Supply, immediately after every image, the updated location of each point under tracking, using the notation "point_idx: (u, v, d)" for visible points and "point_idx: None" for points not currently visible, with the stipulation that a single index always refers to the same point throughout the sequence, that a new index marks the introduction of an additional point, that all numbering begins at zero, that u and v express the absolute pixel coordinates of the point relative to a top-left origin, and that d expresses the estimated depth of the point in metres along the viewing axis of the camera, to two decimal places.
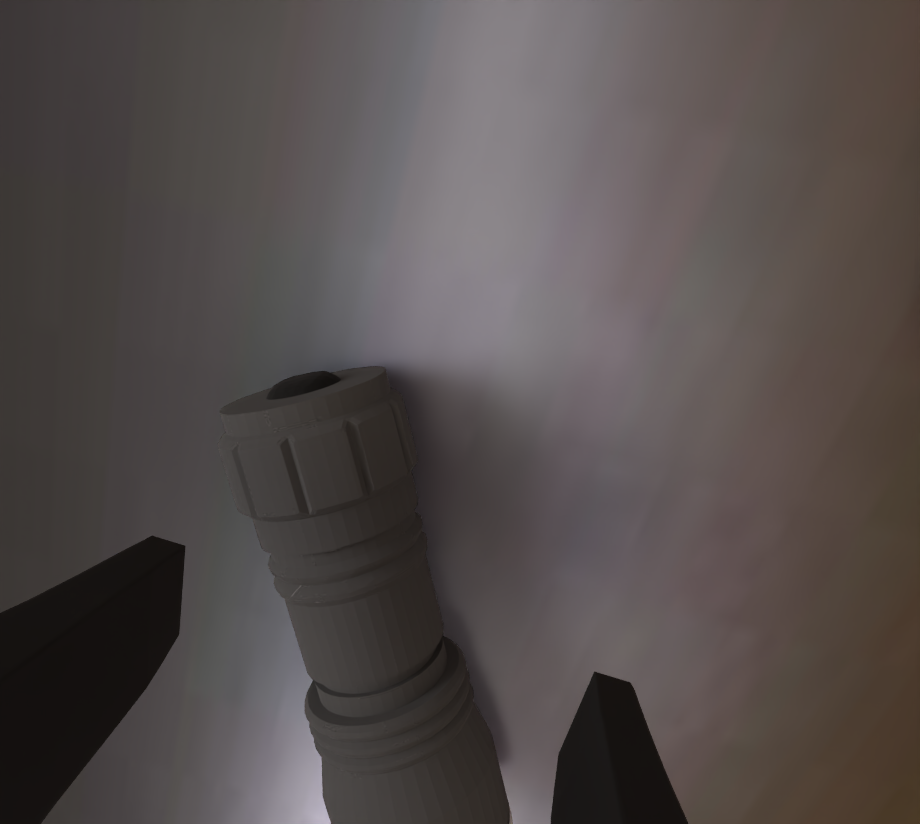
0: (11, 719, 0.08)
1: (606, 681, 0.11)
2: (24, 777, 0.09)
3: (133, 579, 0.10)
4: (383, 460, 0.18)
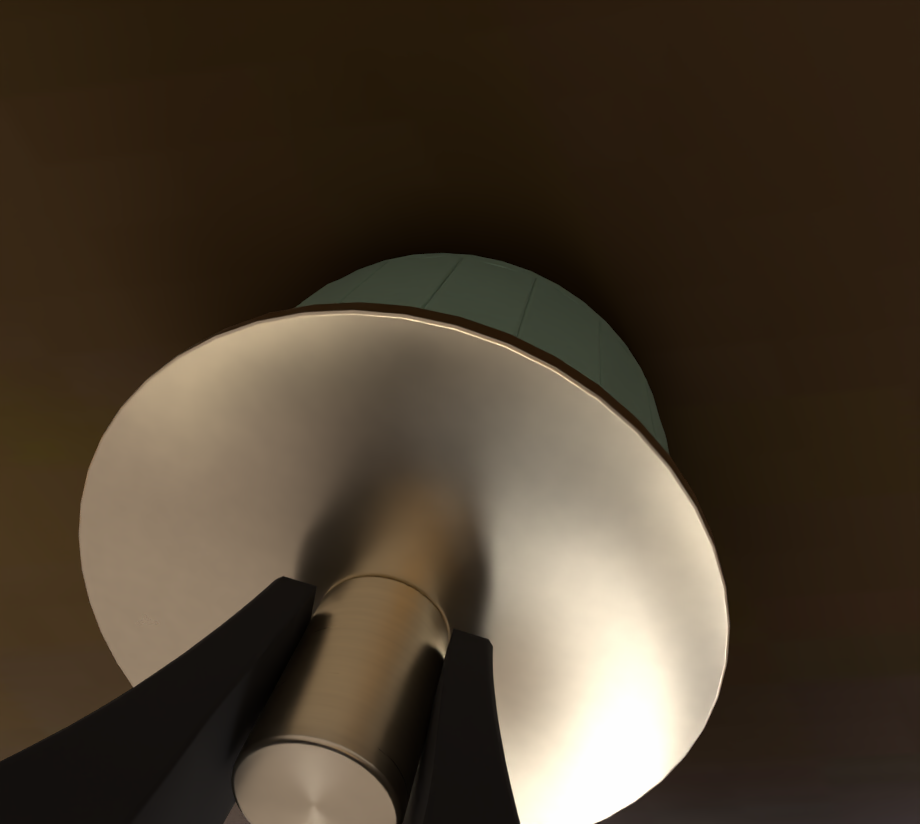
0: (191, 778, 0.08)
1: (463, 638, 0.11)
2: None
3: (281, 625, 0.10)
4: None
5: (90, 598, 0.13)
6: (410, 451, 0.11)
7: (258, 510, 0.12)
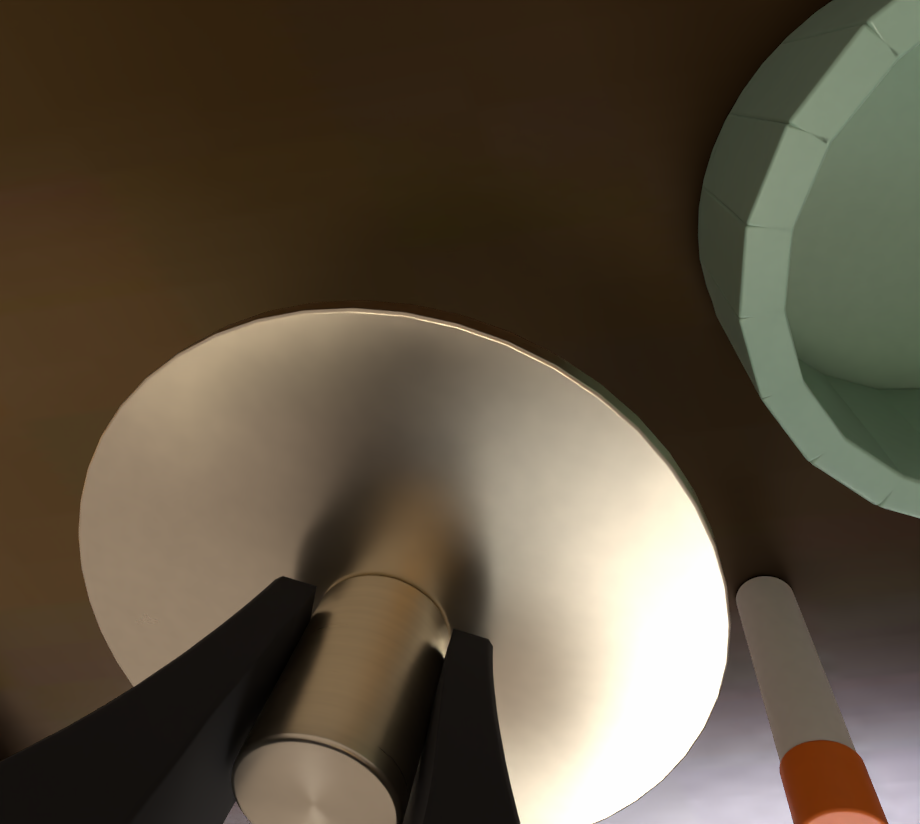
0: (190, 778, 0.08)
1: (463, 637, 0.11)
2: None
3: (280, 625, 0.10)
4: None
5: (90, 597, 0.13)
6: (411, 449, 0.11)
7: (258, 509, 0.12)
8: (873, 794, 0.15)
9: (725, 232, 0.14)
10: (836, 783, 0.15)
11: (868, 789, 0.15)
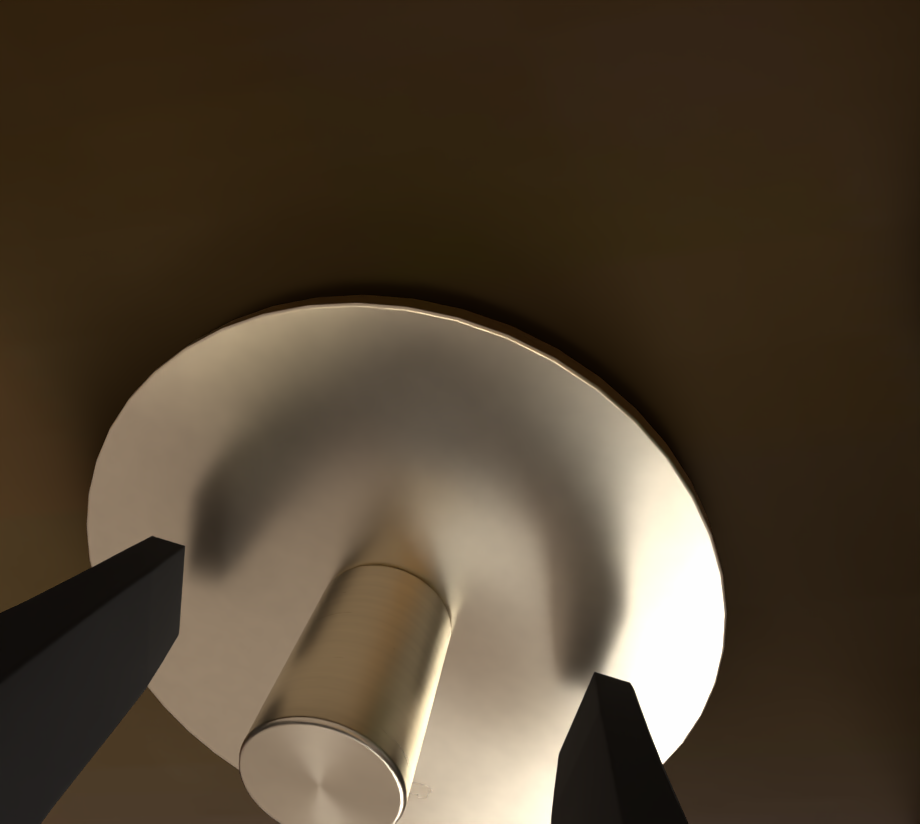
0: (11, 719, 0.08)
1: (606, 681, 0.11)
2: (24, 777, 0.09)
3: (132, 579, 0.10)
4: None
5: None
6: (413, 440, 0.11)
7: (263, 500, 0.12)
8: None
9: None
10: None
11: None
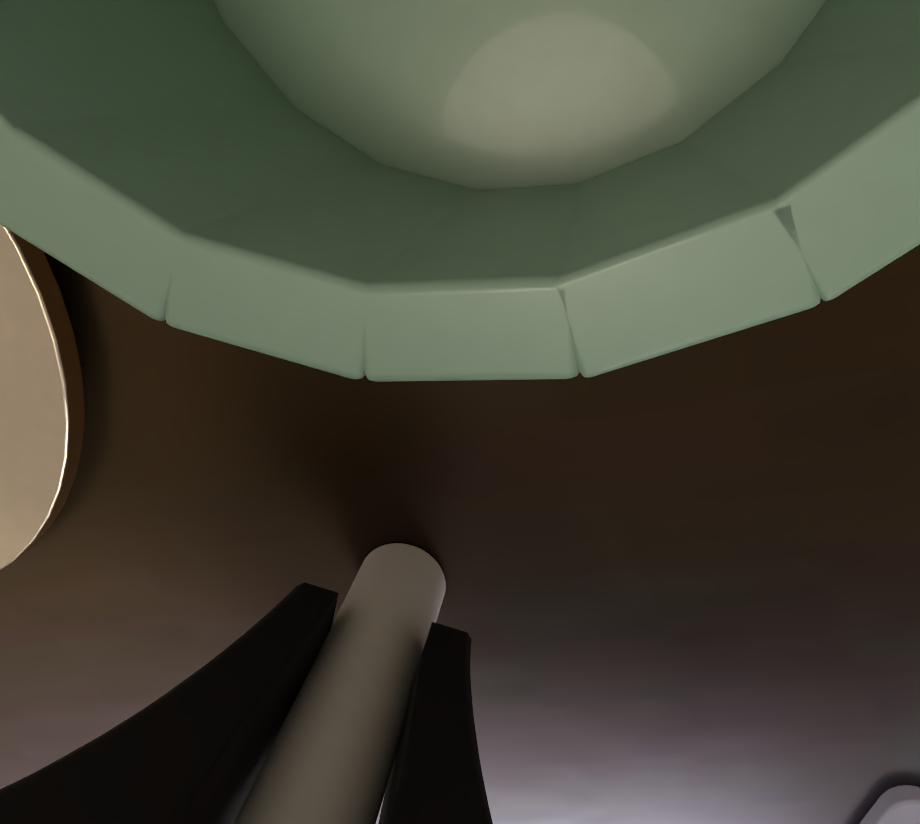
0: (220, 787, 0.08)
1: (442, 630, 0.11)
2: None
3: (305, 633, 0.10)
4: None
5: None
6: None
7: None
8: None
9: None
10: None
11: None
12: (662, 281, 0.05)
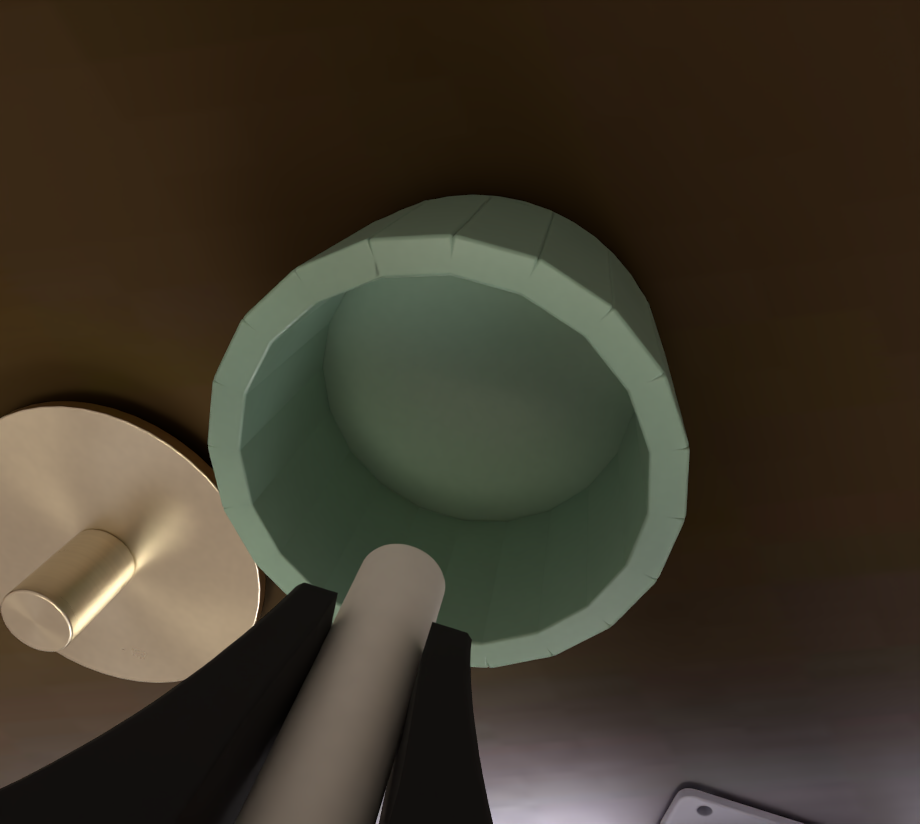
0: (220, 788, 0.08)
1: (442, 630, 0.11)
2: None
3: (304, 633, 0.10)
4: None
5: None
6: (97, 468, 0.23)
7: (36, 497, 0.24)
8: None
9: None
10: None
11: None
12: (509, 647, 0.17)
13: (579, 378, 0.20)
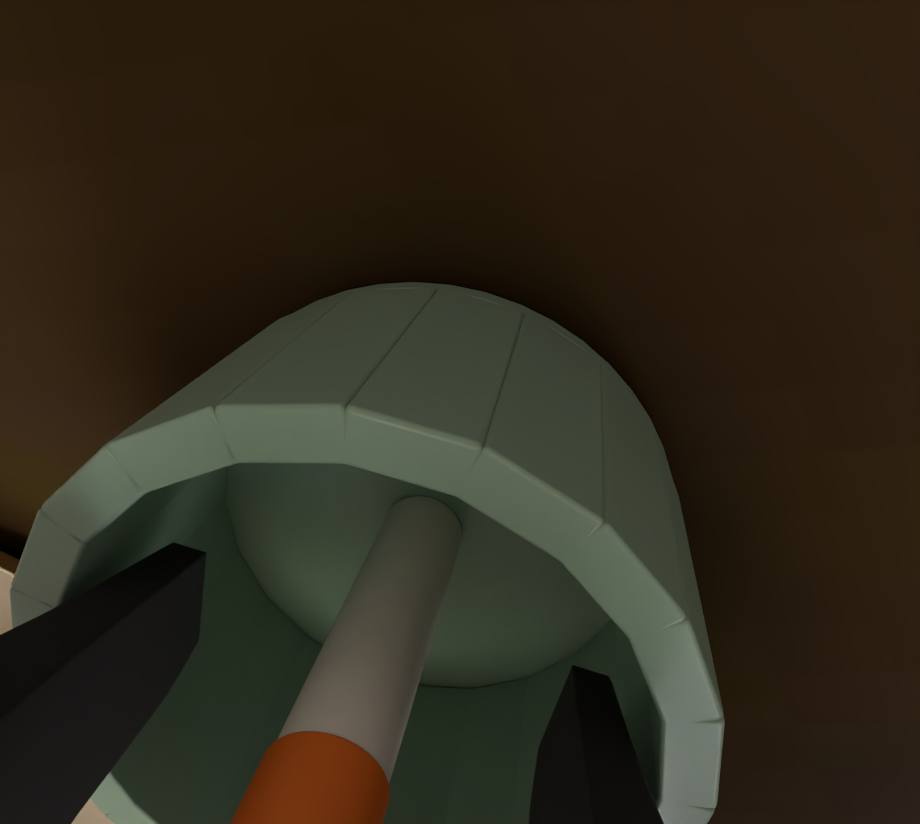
0: (40, 728, 0.08)
1: (584, 675, 0.11)
2: (51, 786, 0.09)
3: (156, 586, 0.10)
4: None
5: None
6: None
7: None
8: None
9: None
10: (274, 808, 0.08)
11: (332, 819, 0.08)
12: None
13: None
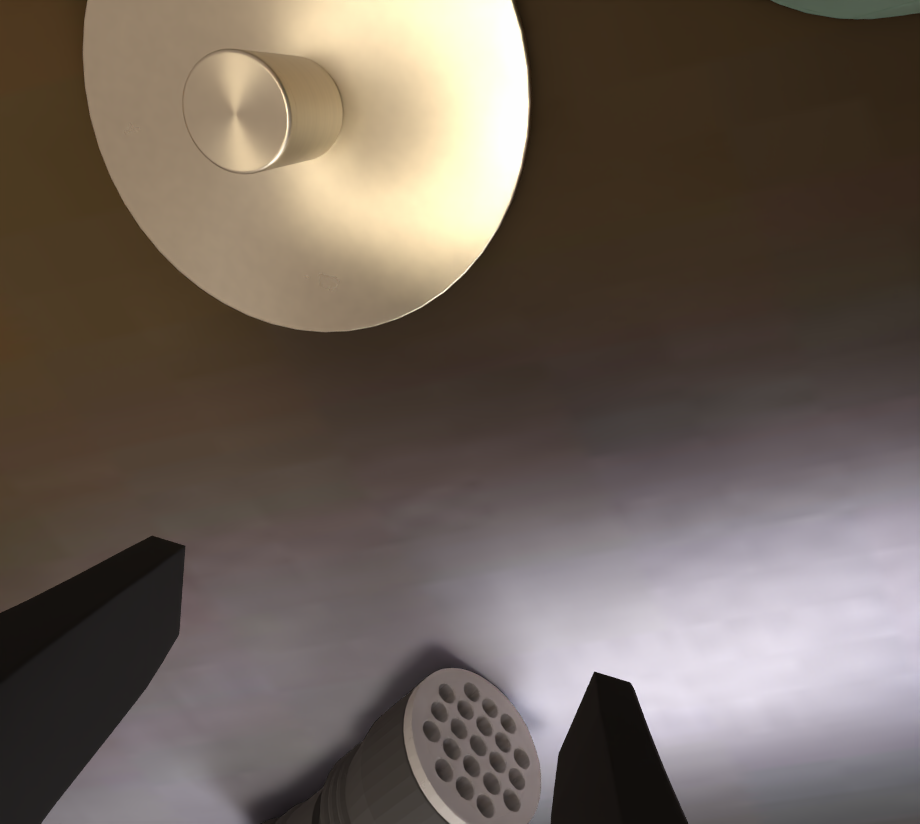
0: (11, 719, 0.08)
1: (607, 681, 0.11)
2: (24, 777, 0.09)
3: (132, 578, 0.10)
4: None
5: (91, 113, 0.19)
6: None
7: (207, 7, 0.17)
8: None
9: None
10: None
11: None
12: None
13: None
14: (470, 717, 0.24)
